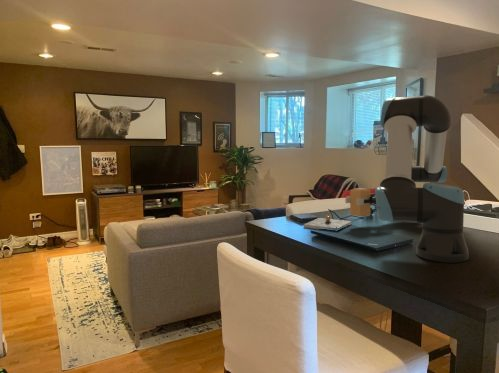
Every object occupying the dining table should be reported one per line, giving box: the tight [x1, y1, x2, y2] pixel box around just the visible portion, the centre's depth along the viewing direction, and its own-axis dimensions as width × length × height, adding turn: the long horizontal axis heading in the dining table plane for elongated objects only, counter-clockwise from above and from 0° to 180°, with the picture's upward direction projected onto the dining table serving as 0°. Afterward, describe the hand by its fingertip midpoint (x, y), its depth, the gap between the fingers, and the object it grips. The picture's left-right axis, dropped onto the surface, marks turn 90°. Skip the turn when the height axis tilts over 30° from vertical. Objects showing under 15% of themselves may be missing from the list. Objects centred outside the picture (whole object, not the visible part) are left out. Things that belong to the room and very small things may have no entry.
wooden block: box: [349, 187, 372, 217], centre depth 161 cm, size 6×6×12 cm
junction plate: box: [303, 215, 352, 230], centre depth 165 cm, size 16×16×4 cm
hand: (351, 201), depth 158 cm, fingers closed on wooden block, 6 cm apart
